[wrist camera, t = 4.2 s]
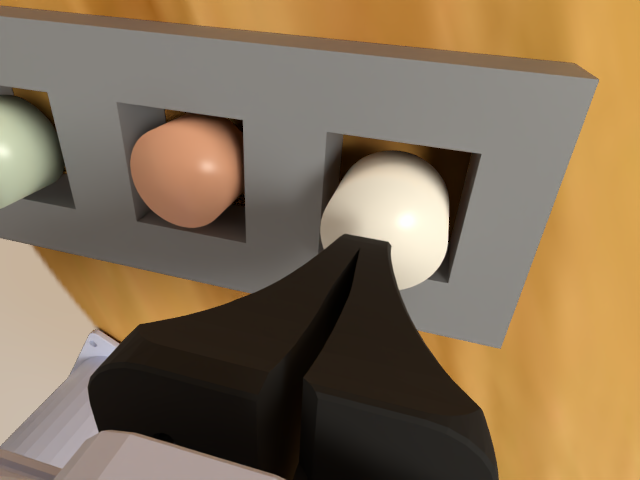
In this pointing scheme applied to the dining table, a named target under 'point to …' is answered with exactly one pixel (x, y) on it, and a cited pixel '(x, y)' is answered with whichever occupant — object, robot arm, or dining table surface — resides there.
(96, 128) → the button panel
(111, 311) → the dining table surface
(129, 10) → the dining table surface
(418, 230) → the button cream
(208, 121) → the button terracotta
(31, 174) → the button sage
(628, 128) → the dining table surface
